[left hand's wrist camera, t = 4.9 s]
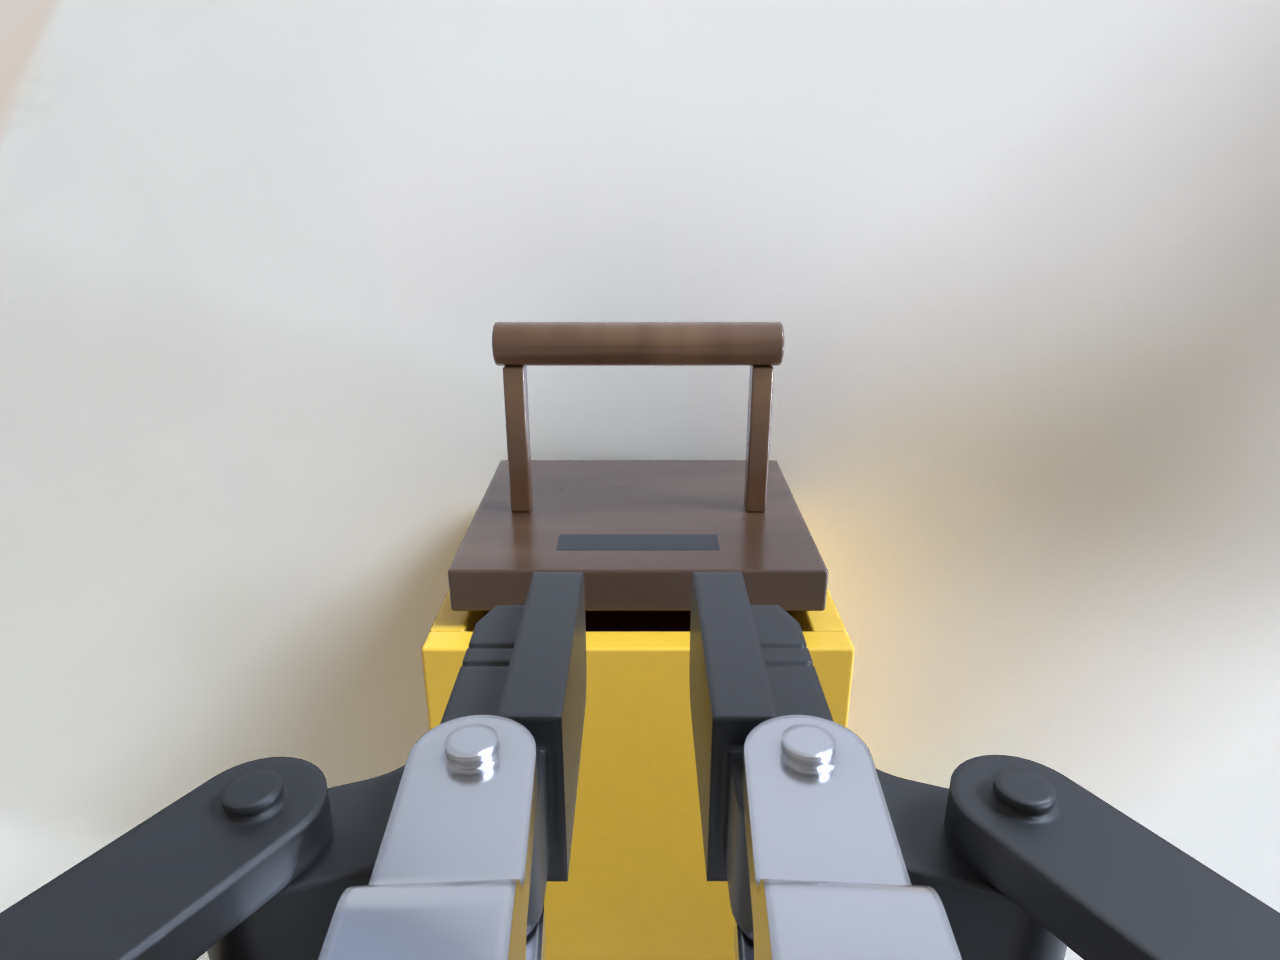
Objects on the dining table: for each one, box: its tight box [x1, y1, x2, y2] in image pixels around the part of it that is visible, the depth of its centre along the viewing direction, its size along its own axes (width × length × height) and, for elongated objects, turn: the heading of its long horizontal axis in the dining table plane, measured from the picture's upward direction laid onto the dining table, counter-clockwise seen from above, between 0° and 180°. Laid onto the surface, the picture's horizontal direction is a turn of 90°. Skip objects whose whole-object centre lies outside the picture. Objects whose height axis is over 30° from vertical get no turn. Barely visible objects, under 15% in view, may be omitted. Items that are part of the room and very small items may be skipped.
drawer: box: [448, 322, 828, 632], centre depth 28 cm, size 24×10×9 cm, turn 0°
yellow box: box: [421, 589, 855, 960], centre depth 29 cm, size 20×11×11 cm, turn 0°
